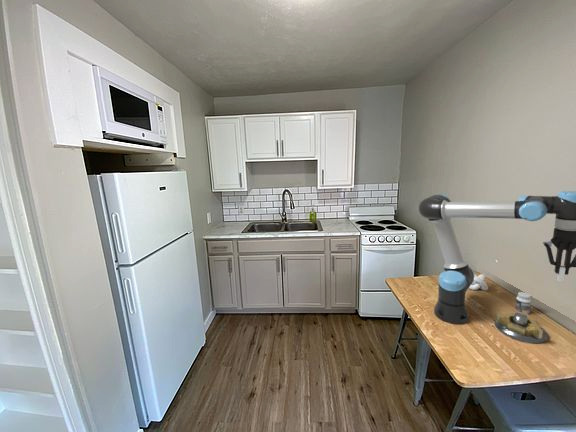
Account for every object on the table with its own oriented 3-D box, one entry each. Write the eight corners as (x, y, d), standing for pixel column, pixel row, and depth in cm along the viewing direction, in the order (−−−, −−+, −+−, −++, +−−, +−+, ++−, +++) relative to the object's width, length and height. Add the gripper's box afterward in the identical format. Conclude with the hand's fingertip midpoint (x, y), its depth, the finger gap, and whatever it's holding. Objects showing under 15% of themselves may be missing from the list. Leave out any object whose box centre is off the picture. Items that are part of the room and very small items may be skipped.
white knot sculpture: (467, 292, 148) (467, 278, 147) (461, 282, 159) (461, 270, 157) (489, 293, 144) (490, 280, 142) (481, 284, 155) (482, 271, 153)
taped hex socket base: (540, 341, 104) (541, 332, 103) (493, 324, 117) (494, 316, 116) (547, 326, 112) (548, 317, 111) (503, 311, 125) (504, 303, 124)
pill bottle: (513, 307, 130) (515, 290, 128) (527, 309, 128) (529, 292, 126) (517, 313, 125) (518, 296, 123) (531, 315, 123) (534, 298, 121)
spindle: (514, 331, 113) (515, 317, 112) (511, 325, 117) (512, 312, 116) (527, 334, 111) (529, 319, 109) (523, 328, 115) (525, 314, 113)
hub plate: (499, 337, 111) (500, 334, 110) (490, 315, 126) (490, 312, 126) (554, 348, 102) (555, 344, 102) (537, 322, 117) (537, 319, 117)
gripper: (588, 227, 99) (580, 280, 103) (543, 225, 107) (537, 274, 112) (595, 232, 93) (586, 287, 98) (546, 229, 101) (540, 280, 106)
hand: (560, 280), depth 105 cm, fingers closed
